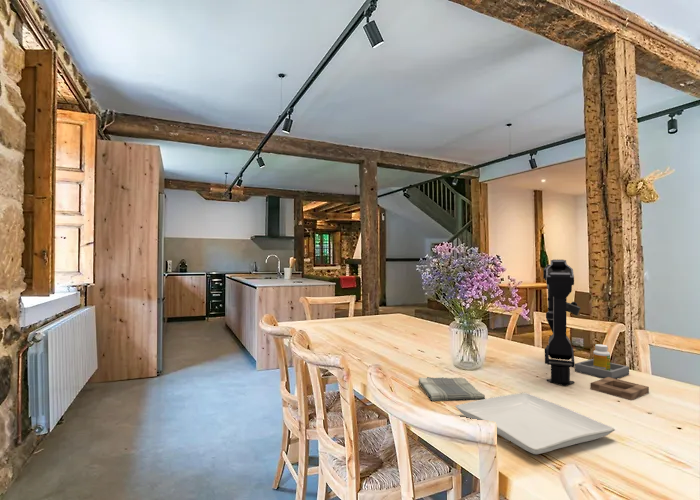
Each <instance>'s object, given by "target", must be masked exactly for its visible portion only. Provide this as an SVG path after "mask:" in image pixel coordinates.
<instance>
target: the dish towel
mask: <svg viewBox="0 0 700 500" xmlns="http://www.w3.org/2000/svg"><path fill="white" fill-rule="evenodd" d="M418 384H419V385H420V387H421V388H422V389H423V391H424V392H425V394H426V395H427V397H428V398H429V397H430V398H429V399H430V401H431V400H432V401H431V402H449V401H450V402H451V401H478V400H483V399H486V396H485V394H483V393H482V392H481V391H480V390H478V389H476V387H474V385H473V384H471V383H470V382H469V381H468V380H467V379H466V378H465V377H431V376H430V377H428V376H427V377H421V376H420V377H419V378H418Z"/></svg>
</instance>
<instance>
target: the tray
mask: <svg viewBox="0 0 700 500" xmlns="http://www.w3.org/2000/svg"><path fill="white" fill-rule="evenodd" d="M575 372H576V373H580V374H583V375H587V376H592V377H595V378H599V379H604V378H607V377H610V378H615V379H621V378H625V377H627V376H629V375H630V366H627V365H623V364H618V363H614V362H610V371H608V370H603V369H599V368H595V367H593V358H592V359H588V360H583V361H579V362H577V363H576V362H575V366H574V373H575Z"/></svg>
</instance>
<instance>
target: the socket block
mask: <svg viewBox="0 0 700 500" xmlns="http://www.w3.org/2000/svg"><path fill="white" fill-rule="evenodd" d="M589 384H590V385H589V387H590V390H593V391H597V392H600V393H604V394H607V395H612V396H615V397H619V398H622V399H625V400H629V401H633V400H636V399H638V398H641V397H642V396H645V395H647V394H649V393H650V388H649V386H646V385H643V384H639V383H635V382H631V381H626V380H622V379H620V378H618V379H615V378H610V377H607V378H604V379H603V378H600V379H599V380H595V381H593V382H592V381H591V382H590V383H589Z"/></svg>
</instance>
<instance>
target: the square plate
mask: <svg viewBox="0 0 700 500" xmlns="http://www.w3.org/2000/svg"><path fill="white" fill-rule="evenodd" d="M454 407H455V408H456V409H457V410H458V411H459V412H460V413H461V414H462V415H463V416H465V417H466V418H468V419H470V418H472V419H477V420H489V421H494V422H496V424H497V434H496V435H498V436H501V438H503V439H505V440H506V441H509V442H510V441H511V442H510V443H512V444H514V445H516V446H518V447H520V448H521V449H522V450H525V451H527V452H528V453H531V454H533V455H539V454H540V455H541V454H543V453H548V452H551V451H554V450H557V449H558V450H559V449H562V448H567V447H569V446H573V445H577V444H583V443H587V442H590V441H594V440H597V439H601V438H604V437H606V436H608V435H610V434H611V433H613V432H614V431H616V429H615V428H614V427H612V426H610V425H608V424H605V423H603V422H601V421H598V420H596V419H594V418H591V417H589V416H587V415H585V414H582V413H580V412H577V411H574V410H572V409H570V408H567V407H565V406H562V405H560V404H557V403H555V402H553V401H550V400H546V399H544V398H541V397H539V396H536V395H533V394H530V393H528V392H518V393H513V394H506V395H499V396H493V397H488V398H485V399H483V400H472V401H469V402H466V403H465V402H464V403H459V404H456V405H455V406H454ZM472 419H471V420H472Z"/></svg>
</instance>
